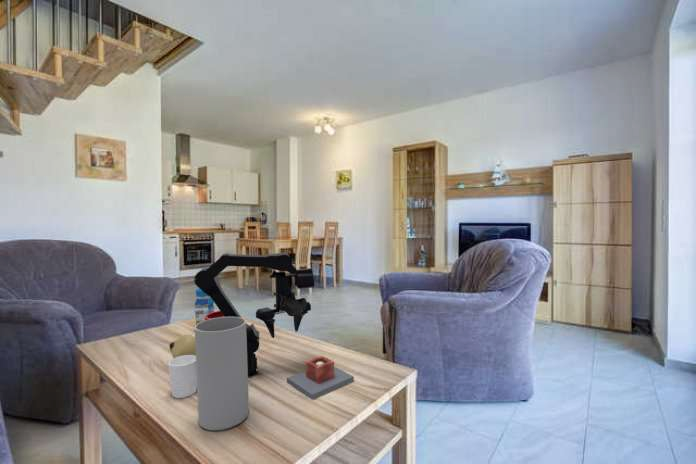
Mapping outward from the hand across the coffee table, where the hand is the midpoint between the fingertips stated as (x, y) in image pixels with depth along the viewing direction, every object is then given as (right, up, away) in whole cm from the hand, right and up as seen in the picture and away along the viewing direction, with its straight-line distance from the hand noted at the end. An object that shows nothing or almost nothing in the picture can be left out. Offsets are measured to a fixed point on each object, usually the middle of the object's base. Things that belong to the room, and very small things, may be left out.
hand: (285, 334), depth 117 cm
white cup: (-28, -13, -14) cm, 34 cm away
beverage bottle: (-45, -11, +41) cm, 62 cm away
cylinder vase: (-11, -14, -28) cm, 33 cm away
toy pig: (-37, -13, +7) cm, 40 cm away
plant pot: (-32, -12, +28) cm, 44 cm away
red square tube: (+13, -11, -9) cm, 19 cm away
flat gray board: (+13, -12, -9) cm, 20 cm away
